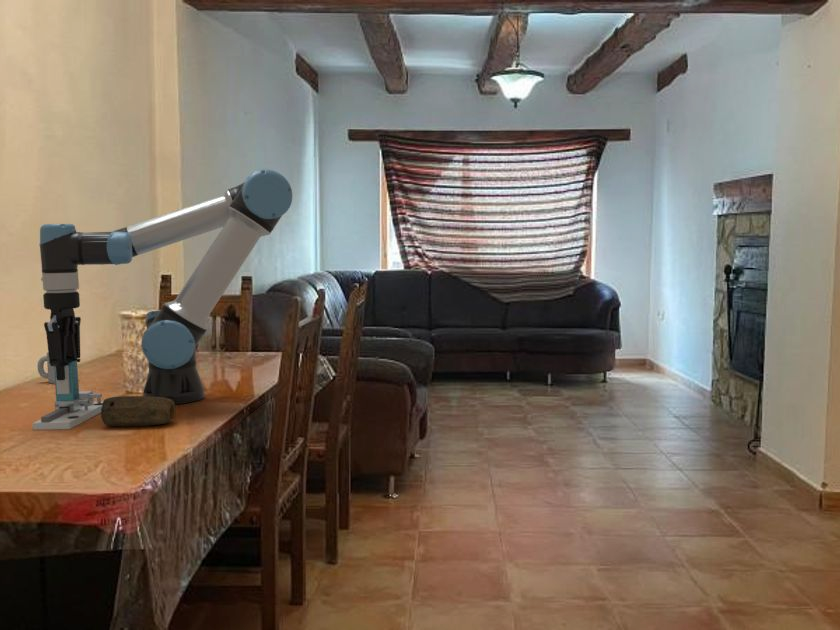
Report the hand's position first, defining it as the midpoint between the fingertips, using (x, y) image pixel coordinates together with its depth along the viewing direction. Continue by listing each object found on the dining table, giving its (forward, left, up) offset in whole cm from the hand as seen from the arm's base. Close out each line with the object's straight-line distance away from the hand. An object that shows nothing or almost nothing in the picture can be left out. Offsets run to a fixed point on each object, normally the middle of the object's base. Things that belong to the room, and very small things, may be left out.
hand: (67, 391), depth 179 cm
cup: (+25, -48, -6) cm, 55 cm away
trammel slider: (-1, 0, -4) cm, 4 cm away
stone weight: (-20, +9, -6) cm, 23 cm away
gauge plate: (-2, +1, -6) cm, 6 cm away
